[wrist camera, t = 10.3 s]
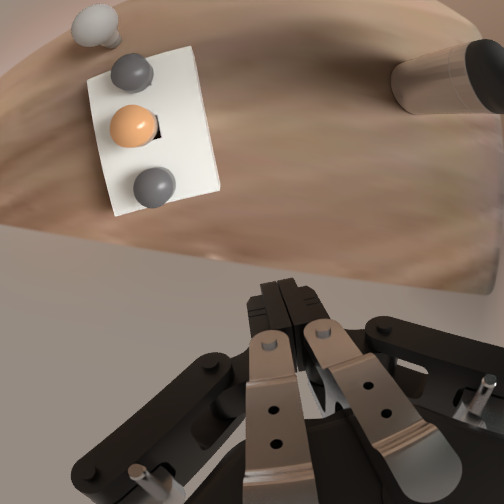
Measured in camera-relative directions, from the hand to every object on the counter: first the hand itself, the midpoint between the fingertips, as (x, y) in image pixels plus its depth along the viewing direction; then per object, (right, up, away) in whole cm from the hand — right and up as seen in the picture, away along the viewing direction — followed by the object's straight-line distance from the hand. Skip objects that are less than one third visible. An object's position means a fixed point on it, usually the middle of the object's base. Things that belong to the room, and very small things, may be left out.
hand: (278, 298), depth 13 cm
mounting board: (-14, +19, +23) cm, 32 cm away
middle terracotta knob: (-14, +17, +19) cm, 29 cm away
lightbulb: (-21, +32, +17) cm, 42 cm away
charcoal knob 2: (-13, +12, +25) cm, 30 cm away
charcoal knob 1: (-15, +25, +20) cm, 35 cm away
